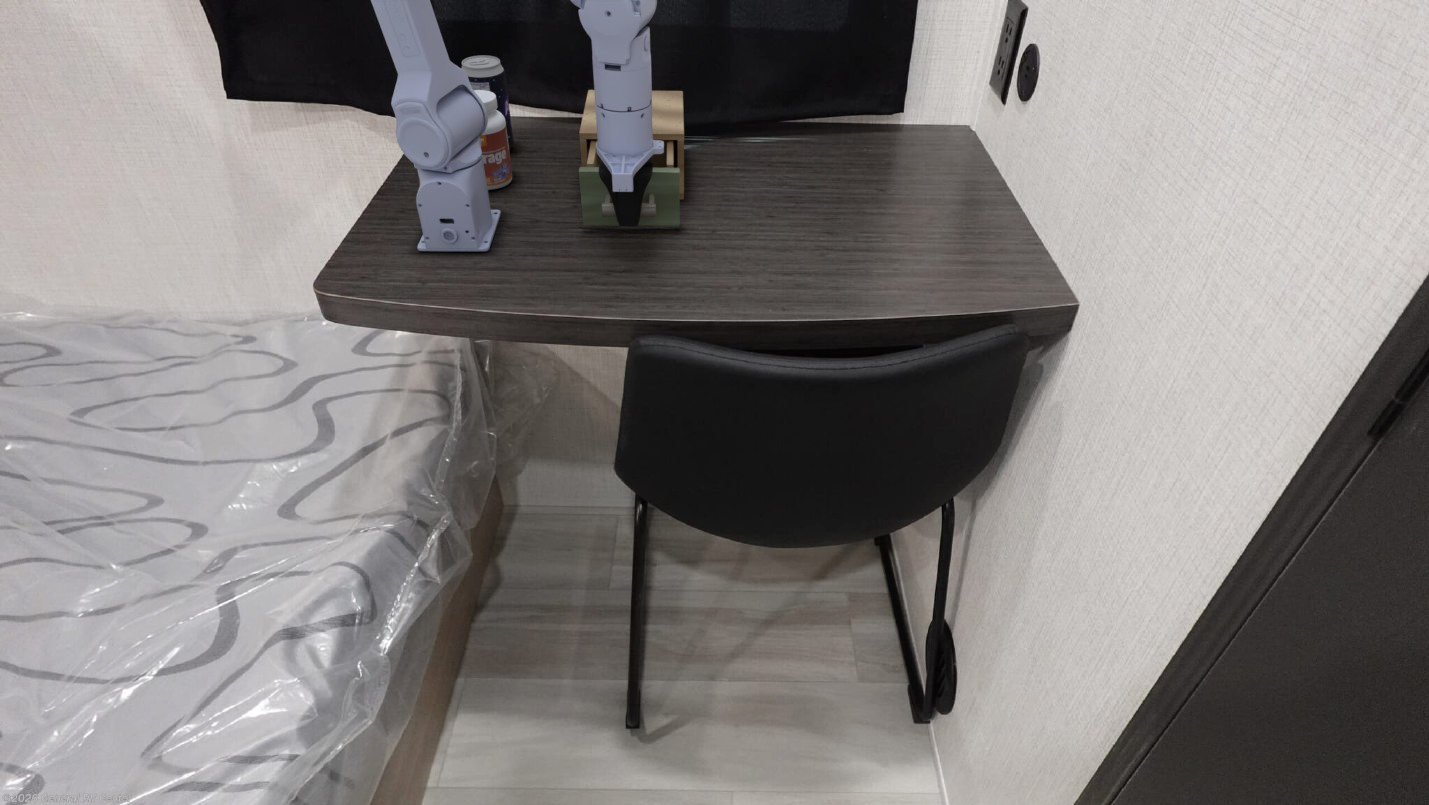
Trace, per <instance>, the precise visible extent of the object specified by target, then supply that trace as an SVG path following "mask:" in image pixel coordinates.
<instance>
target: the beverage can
mask: <svg viewBox="0 0 1429 805" xmlns="http://www.w3.org/2000/svg"><path fill="white" fill-rule="evenodd" d="M460 68H461V69H462V70H463V71H465V72H466V73H467V76H468V79H469V82H470V84H471V86H472V88H473V90H486V91H490V92H493V93H494V94H495V95H496V99H497V109H496V110H497V111H499V112H500V113H502V115H503V116H504V118H505V121H506V128H507V136H508V144H509V150H510V149H511V148H512V147H513V146H514V142H515V140H514V133H513V125H512V118H511V110H510V109H511V108H510V102H509V95H508V94H509V93H508V87H507V78H506V71H505V69H504V67H503V66H502V64H501V59H500V58H498V57H497V56H493V55H481V54H480V55H473V56H469V57H465V58H464V59H462V60H461V67H460Z"/></svg>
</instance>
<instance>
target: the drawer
mask: <svg viewBox="0 0 1429 805" xmlns="http://www.w3.org/2000/svg"><path fill="white" fill-rule="evenodd" d="M597 141H598V139H591V144H590V149H589V155H588V160H587V167H582V166H579V168H578V177H579V178H578V180H579V193H580V203H581V204H580V205H581V218H582V226H619V223H618V221H617V218H616V214H615V210H614V206H613V203H612V199H611V196H610V194H609V192H608V190H607V188H606V186H605V185H604V183H603V182H602V180H601V178H600V176H599V164H600V161H601V158H600V157H599V156H598V154H597V152H596V143H597ZM660 141H663V142H664V153H662V154H654V155H652V156H653V173H652V177H651V179H650V181H649V183H648V185H647V187H646V189H645V192H644V196H643V200H642V207H641V214H640V220H639V224H638V226H637V227H639V226H642V227H643V226H644V227H645V226H647V227H649V226H650V227H651V226H652V227H656V226H657V227H679V226H680V224H681V222H680V219H681V215H680V214H681V199H680V168H674V163H673V140H660Z"/></svg>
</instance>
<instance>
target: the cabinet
mask: <svg viewBox="0 0 1429 805" xmlns="http://www.w3.org/2000/svg"><path fill="white" fill-rule="evenodd" d="M684 115H685V114H684V91H683V90H652V133H653V140H673V163H674V168H680V200H684V199H685V121H684V120H685V119H684ZM578 134H579V144H580V145H579V147H580V149H579V150H580V159H581V160H580V161H581V167H587V160H588V155H589V149H590V144H591V139H598V138H597V123H596V108H595V92H594V89H588V90H587V94H586V100H585V103H584V109H583V114H582V118H581V123H580V128H579V133H578Z"/></svg>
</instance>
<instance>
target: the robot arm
mask: <svg viewBox="0 0 1429 805" xmlns="http://www.w3.org/2000/svg"><path fill="white" fill-rule="evenodd" d="M569 1H570V2H571V3H572V4H573V5H574V6H576V7H577V8H579V9H578V17H579V21H580V23H581V25H582V28H583V30H584V31H585V32H586V35H588V36H589V38H590V41H591V51H592V52H591V53H592V55H591V58H592V59H591V60H592V73H593V90H594V92H595V108H596V123H597V138H598V141H597V143H596V152H597V154H598V156H599V157H600V158H601V161H600V164H599V176H600V178H601V180H602V182H603V183H604V185H605V186H606V188H607V190H608V192H609V194H610V196H611V199H612V203H613V206H614V210H615V214H616V218H617V221H618V223H619V225H618V226H619V227H639V226H638V224H639V220H640V214H641V207H642V200H643V196H644V192H645V189H646V187H647V185H648V183H649V181H650V179H651V177H652V173H653V156H652V155H654V154H662V153H664V142H663V141H660V140H653V133H652V91H653V87H652V84H653V81H652V80H653V78H652V53H651V33H650V32H651V29H650V26H647V25H648V24H649V23H650V21H651V19H652V18H653V16H654V15H655V13H656V10H657V5H658V0H569ZM370 2H371V4H372V5H371V6H372V7H373V10H374V14H375V16H376V19H377V21H378V24H379V26H380V29H381V32H382V35H383V38H384V40H385V43H386V46H387V48H388V50H389V53H390V56H391V59H392V62H393V65H394V68H395V70H396V72H397V79H396V83H395V86H394V90H393V94H392V96H391V102H390V105H391V107H392V110H393V113H394V118H395V123H396V124H395V137H396V141H397V144H398V147H399V149H400V150H401V153H403V155H404V156H405V157H406V158H407V159H408V160H409V161H410V162H411V163H413V166H414V169H416V170H417V175H418V179H419V187H418V190H417V193H416V197H415V204H416V209H417V213H418V218H419V222H420V227H421V233H422V236H421V237H420V240H419V242H418V244H417V246H416V247H417V251H418V252H489V251H490V247H491V245H492V243H493V239H494V237H495V233H496V230H497V227H498V224H499V221H500V218H501V215H502V211H501V210H500V209H492V208H491V202H490V195H489V190H488V189H487V182H486V176H485V170H484V163H483V157H482V151H481V147H482V146H481V140H480V136H481V135H482V134H483V133H484V131H485V130H486V127H487V123H488V115H487V111H486V108H485V106H484V103H483V102H482V100H481V99H480V98H479V96H478V95H477V94H476V93H475V91H474V90H473V88H472V86H471V84H470V82H469V79H468V76H467V73H466V72H465V71H463V70H462V69H461V68H462V67H459V66H458V65H457V64H455V63H454V62H452V61H451V60H450V57H449V54H448V51H447V48H446V45H445V42H444V39H443V36H442V33H441V30H440V26H439V23H438V21H437V17H436V14H435V11H434V9H433V5H432V3H431V0H370Z"/></svg>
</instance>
